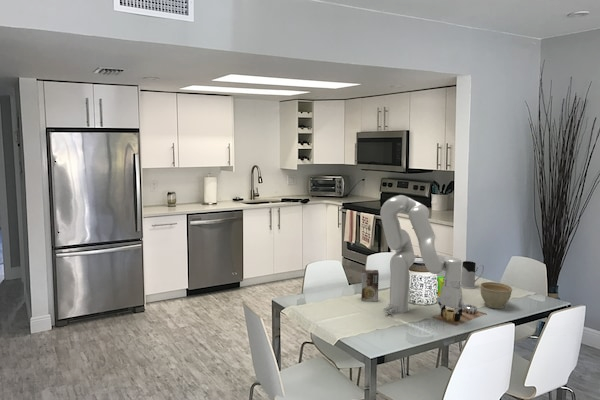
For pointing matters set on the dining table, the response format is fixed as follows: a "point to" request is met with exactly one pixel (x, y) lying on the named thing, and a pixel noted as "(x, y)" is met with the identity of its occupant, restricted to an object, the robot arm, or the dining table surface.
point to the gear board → (461, 317)
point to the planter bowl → (495, 294)
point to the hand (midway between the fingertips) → (450, 318)
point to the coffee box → (370, 285)
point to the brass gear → (449, 314)
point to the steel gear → (470, 309)
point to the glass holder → (469, 275)
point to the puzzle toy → (440, 284)
